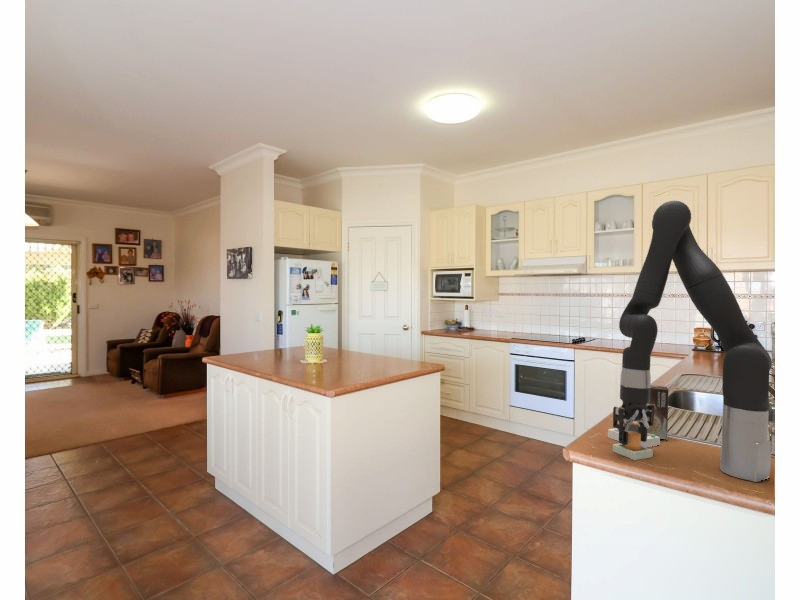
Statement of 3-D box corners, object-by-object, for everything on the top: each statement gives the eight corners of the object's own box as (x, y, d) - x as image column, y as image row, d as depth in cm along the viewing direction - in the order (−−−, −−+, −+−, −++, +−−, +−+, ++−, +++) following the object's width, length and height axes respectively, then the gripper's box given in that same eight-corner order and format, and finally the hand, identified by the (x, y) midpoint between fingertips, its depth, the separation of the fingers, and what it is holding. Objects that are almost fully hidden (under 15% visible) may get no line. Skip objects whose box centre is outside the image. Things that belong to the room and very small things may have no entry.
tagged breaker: (641, 435, 134) (641, 422, 134) (635, 436, 133) (636, 423, 133) (632, 432, 137) (632, 420, 137) (626, 433, 136) (626, 420, 135)
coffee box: (666, 435, 144) (668, 386, 144) (667, 441, 139) (669, 390, 138) (634, 430, 149) (636, 383, 148) (634, 436, 143) (636, 386, 143)
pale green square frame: (652, 457, 124) (653, 449, 124) (634, 460, 121) (635, 452, 121) (630, 448, 131) (630, 441, 131) (612, 451, 128) (612, 444, 128)
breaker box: (659, 445, 134) (660, 434, 134) (639, 448, 131) (639, 437, 131) (627, 434, 144) (628, 424, 144) (607, 437, 141) (608, 426, 141)
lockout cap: (643, 455, 125) (644, 434, 125) (633, 457, 123) (634, 436, 123) (630, 450, 129) (631, 430, 129) (620, 452, 127) (621, 431, 127)
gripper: (640, 380, 132) (638, 435, 132) (605, 383, 126) (603, 441, 126) (664, 385, 125) (662, 444, 125) (629, 388, 119) (626, 449, 120)
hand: (632, 442), depth 126 cm, fingers open, 7 cm apart
